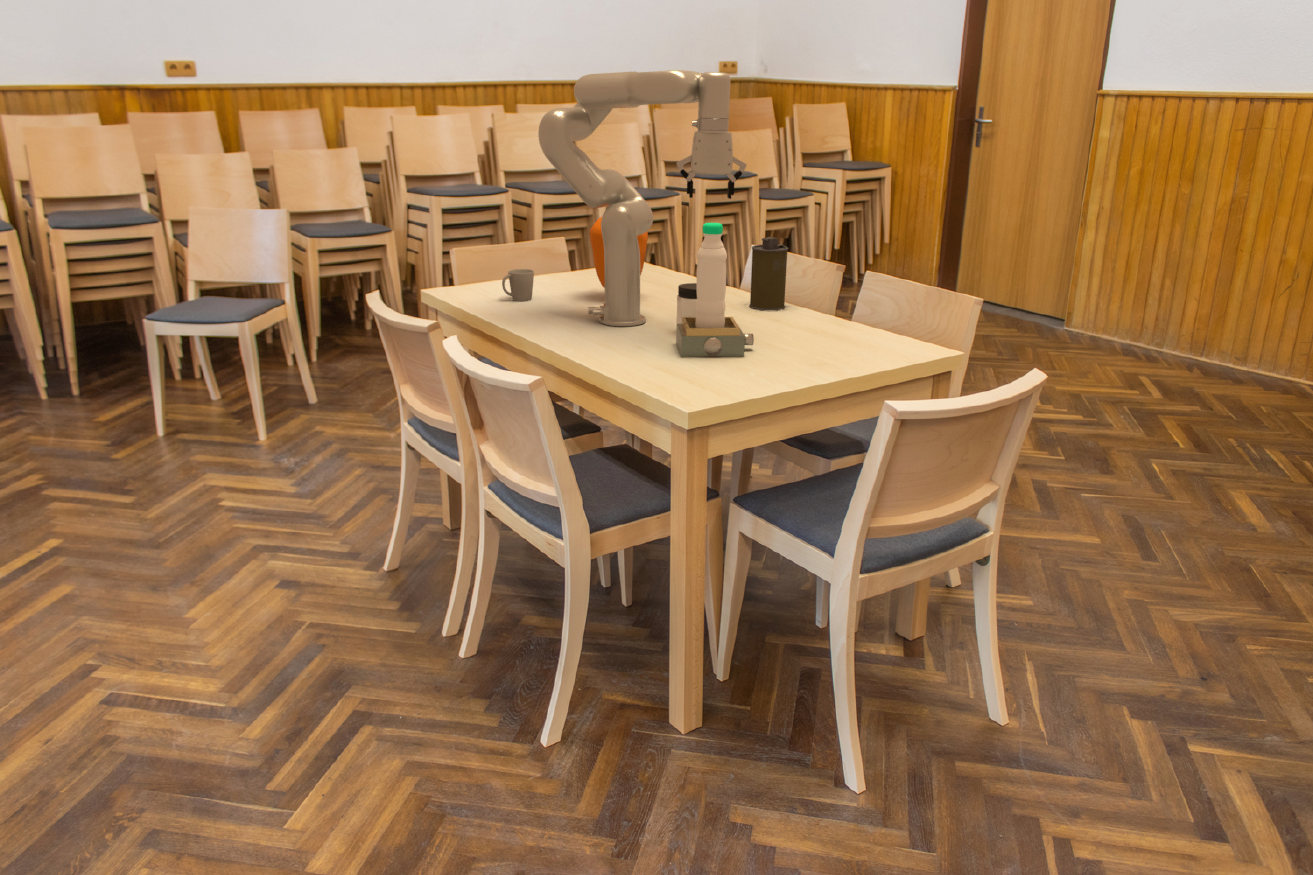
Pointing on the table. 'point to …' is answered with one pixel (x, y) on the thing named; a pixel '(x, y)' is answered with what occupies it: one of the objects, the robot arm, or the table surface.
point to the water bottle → (711, 279)
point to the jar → (686, 301)
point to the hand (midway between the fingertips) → (710, 197)
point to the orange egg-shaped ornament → (599, 250)
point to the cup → (520, 284)
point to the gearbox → (711, 339)
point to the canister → (768, 275)
